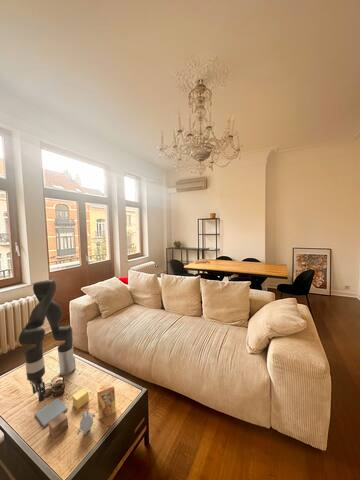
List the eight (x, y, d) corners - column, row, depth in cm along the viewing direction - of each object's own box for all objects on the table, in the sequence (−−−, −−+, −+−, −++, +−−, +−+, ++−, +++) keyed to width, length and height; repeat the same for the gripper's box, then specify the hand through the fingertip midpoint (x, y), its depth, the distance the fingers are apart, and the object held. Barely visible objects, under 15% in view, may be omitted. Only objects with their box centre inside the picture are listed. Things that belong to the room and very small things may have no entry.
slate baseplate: (57, 399, 123) (57, 397, 123) (67, 409, 116) (67, 408, 116) (35, 415, 114) (35, 413, 114) (44, 427, 107) (43, 425, 107)
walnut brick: (63, 422, 110) (62, 412, 109) (68, 427, 107) (67, 417, 106) (49, 433, 104) (48, 422, 103) (53, 439, 101) (52, 428, 100)
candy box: (115, 406, 118) (113, 382, 116) (116, 412, 114) (114, 388, 112) (98, 413, 114) (96, 388, 112) (99, 420, 110) (97, 394, 108)
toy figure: (91, 419, 110) (89, 399, 109) (99, 424, 108) (97, 404, 106) (73, 439, 101) (71, 417, 99) (82, 444, 98) (80, 422, 97)
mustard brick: (84, 396, 125) (83, 387, 125) (88, 400, 122) (88, 391, 122) (73, 405, 120) (72, 395, 119) (77, 409, 117) (76, 400, 116)
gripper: (49, 368, 101) (52, 398, 102) (39, 357, 110) (41, 385, 111) (31, 378, 95) (34, 409, 96) (22, 365, 104) (25, 394, 105)
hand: (38, 396), depth 104 cm, fingers open, 8 cm apart
